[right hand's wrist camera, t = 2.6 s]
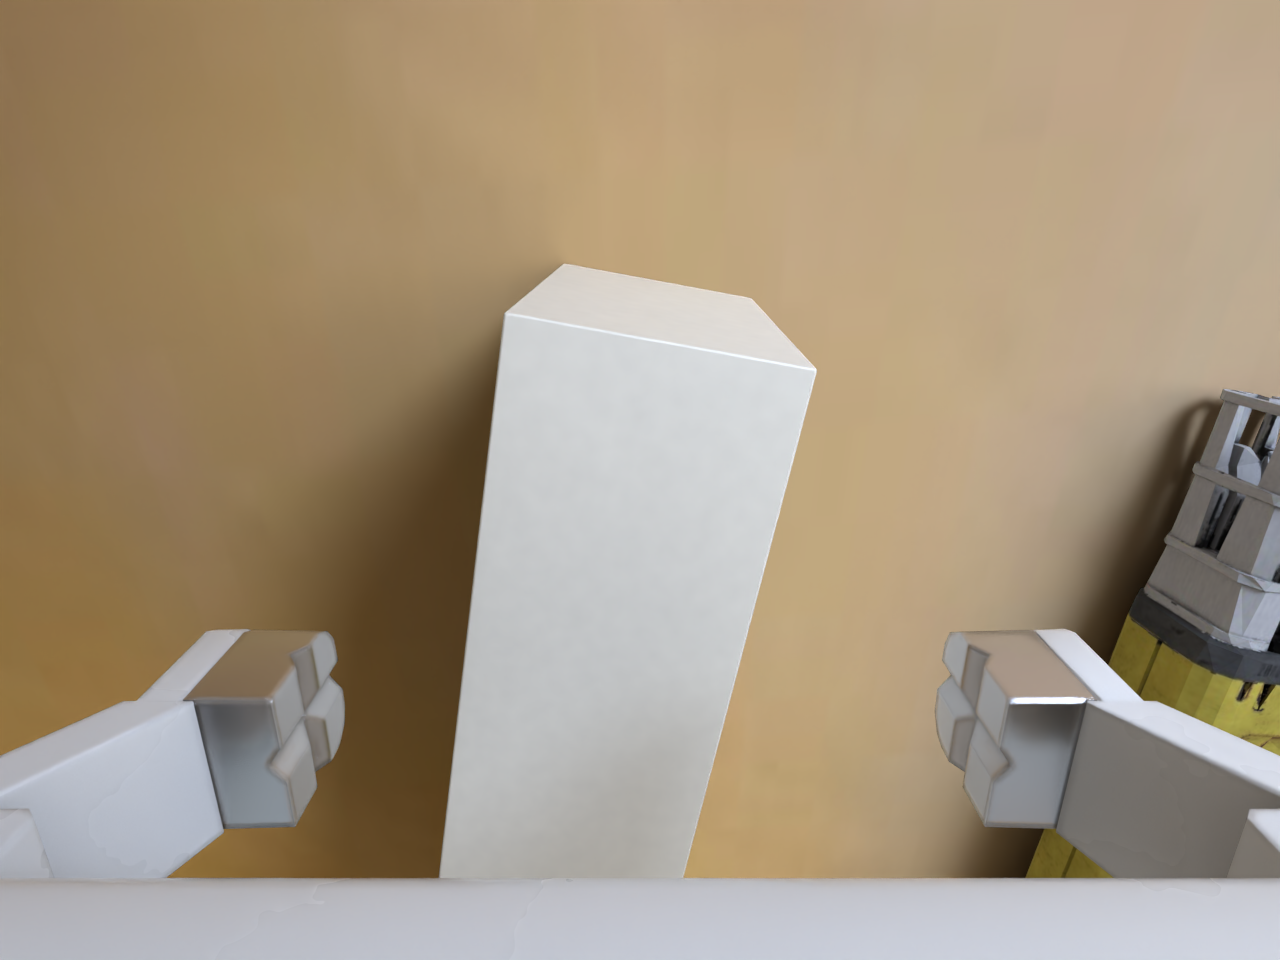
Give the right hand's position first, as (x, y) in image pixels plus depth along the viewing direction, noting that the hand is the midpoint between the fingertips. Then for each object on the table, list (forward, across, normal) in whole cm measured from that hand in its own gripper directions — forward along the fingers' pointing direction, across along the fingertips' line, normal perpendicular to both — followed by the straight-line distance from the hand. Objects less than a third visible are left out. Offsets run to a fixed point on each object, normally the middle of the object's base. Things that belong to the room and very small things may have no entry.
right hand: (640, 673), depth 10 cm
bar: (+14, -2, -9) cm, 17 cm away
